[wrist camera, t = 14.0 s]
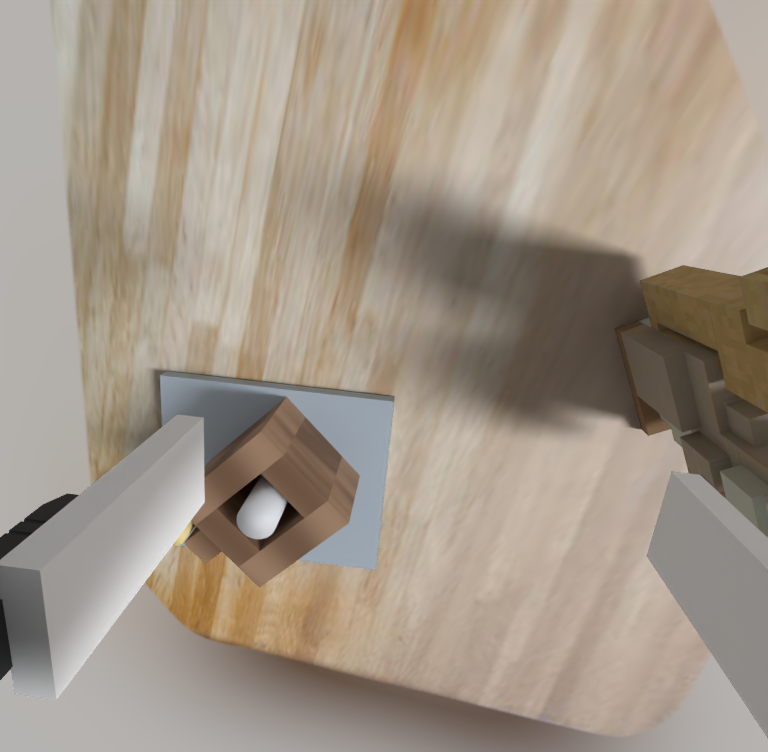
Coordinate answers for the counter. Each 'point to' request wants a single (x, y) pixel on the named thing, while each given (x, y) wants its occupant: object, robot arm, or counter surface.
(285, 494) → the tabbed square frame
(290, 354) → the counter surface
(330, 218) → the counter surface
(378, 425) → the post board
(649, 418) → the toy
